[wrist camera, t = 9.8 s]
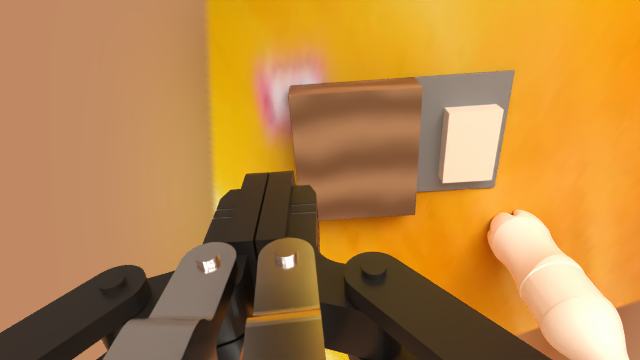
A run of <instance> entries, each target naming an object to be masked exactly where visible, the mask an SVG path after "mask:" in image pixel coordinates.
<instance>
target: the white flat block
mask: <svg viewBox="0 0 640 360" xmlns="http://www.w3.org/2000/svg"><path fill="white" fill-rule="evenodd" d="M503 111H504V110H503V109H502V108H501V107H500V106H498V105H497V104H490V105H475V106H460V107H446V108H444V116H443V127H442V138H441V149H440V160H439V171H438V176H439V178H440V180H441V181H442V183H454V182H470V181H486V180H492V176H493V170H494V164H495V158H496V152H497V146H498V141H499V135H500V129H501V123H502V117H503Z"/></svg>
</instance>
